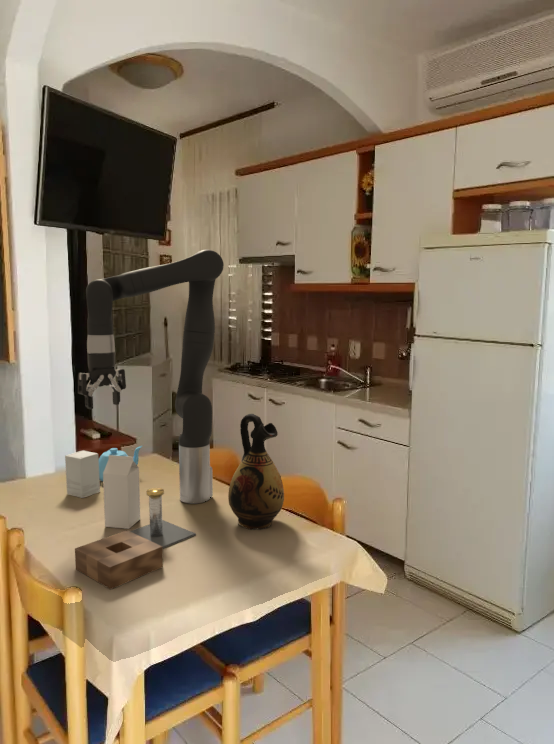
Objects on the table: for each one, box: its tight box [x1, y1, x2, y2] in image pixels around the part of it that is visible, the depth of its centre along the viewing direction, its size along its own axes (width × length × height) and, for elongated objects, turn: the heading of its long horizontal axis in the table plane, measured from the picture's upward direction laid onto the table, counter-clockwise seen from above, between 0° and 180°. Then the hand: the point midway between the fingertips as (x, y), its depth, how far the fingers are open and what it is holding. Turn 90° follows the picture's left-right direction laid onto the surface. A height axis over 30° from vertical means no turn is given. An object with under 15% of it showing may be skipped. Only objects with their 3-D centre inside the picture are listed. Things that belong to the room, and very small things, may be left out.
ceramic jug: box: [227, 413, 285, 531], centre depth 163 cm, size 17×15×30 cm
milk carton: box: [103, 455, 141, 530], centre depth 163 cm, size 7×7×19 cm
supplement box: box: [64, 450, 101, 499], centre depth 187 cm, size 7×7×13 cm
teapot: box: [98, 445, 143, 482], centre depth 203 cm, size 15×15×10 cm
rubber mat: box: [129, 519, 197, 549], centre depth 155 cm, size 14×14×1 cm
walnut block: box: [74, 529, 164, 590], centre depth 137 cm, size 14×14×5 cm
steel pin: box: [146, 487, 165, 537], centre depth 154 cm, size 4×4×12 cm
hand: (103, 406), depth 172 cm, fingers open, 8 cm apart
